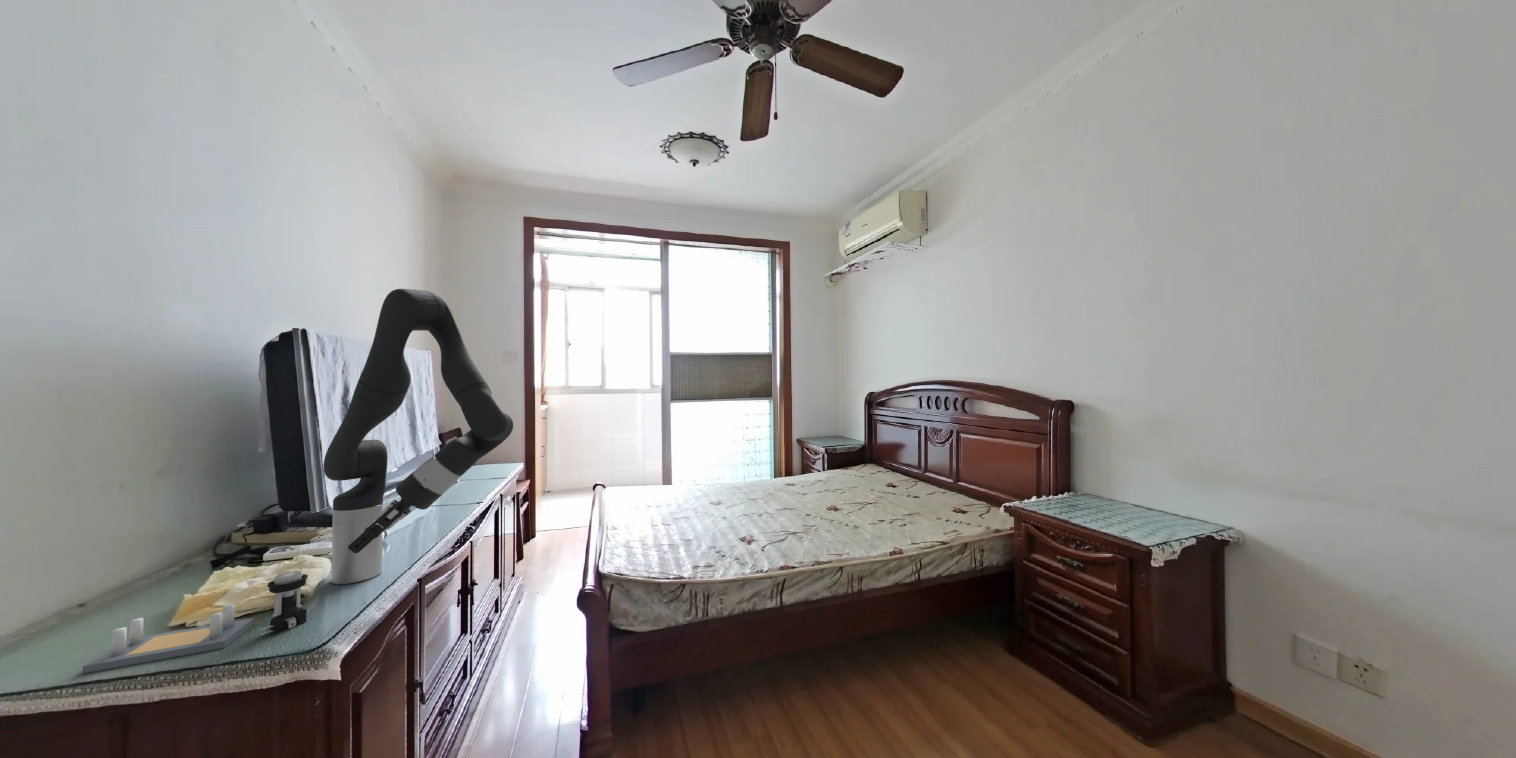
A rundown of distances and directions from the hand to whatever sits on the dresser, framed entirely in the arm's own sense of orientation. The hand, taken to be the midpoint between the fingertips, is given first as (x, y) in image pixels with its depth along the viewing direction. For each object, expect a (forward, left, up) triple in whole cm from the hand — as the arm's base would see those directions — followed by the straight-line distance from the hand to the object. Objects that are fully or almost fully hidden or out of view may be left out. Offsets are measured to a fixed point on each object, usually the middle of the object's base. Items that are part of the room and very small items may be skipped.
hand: (360, 543), depth 90 cm
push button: (0, -11, -15) cm, 18 cm away
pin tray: (-1, -25, -14) cm, 29 cm away
